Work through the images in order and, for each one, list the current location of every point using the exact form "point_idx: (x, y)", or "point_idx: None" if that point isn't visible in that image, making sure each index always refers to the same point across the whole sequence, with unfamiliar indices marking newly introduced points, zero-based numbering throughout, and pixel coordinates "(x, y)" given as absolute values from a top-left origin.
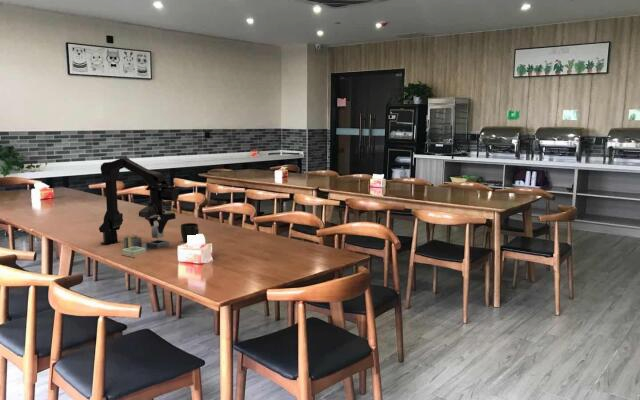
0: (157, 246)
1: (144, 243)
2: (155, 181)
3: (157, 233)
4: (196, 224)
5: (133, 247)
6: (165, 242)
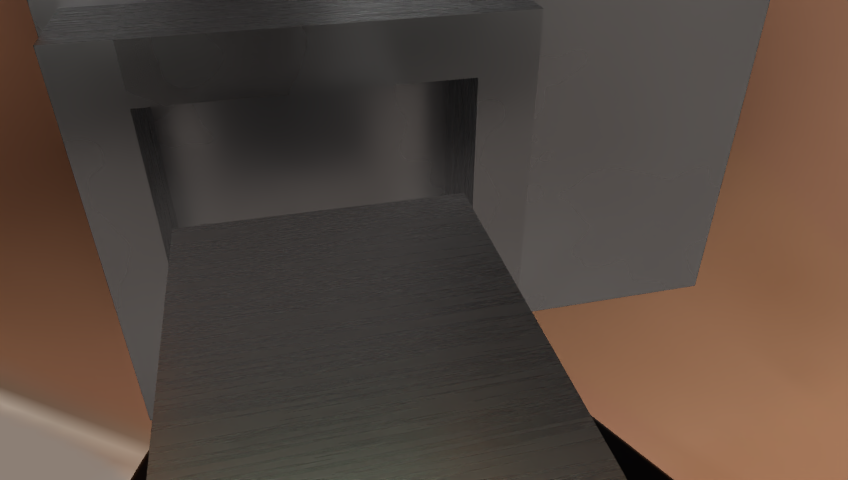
0: (50, 30)
1: (716, 119)
2: None
3: (164, 364)
4: None
5: None
6: (125, 330)
